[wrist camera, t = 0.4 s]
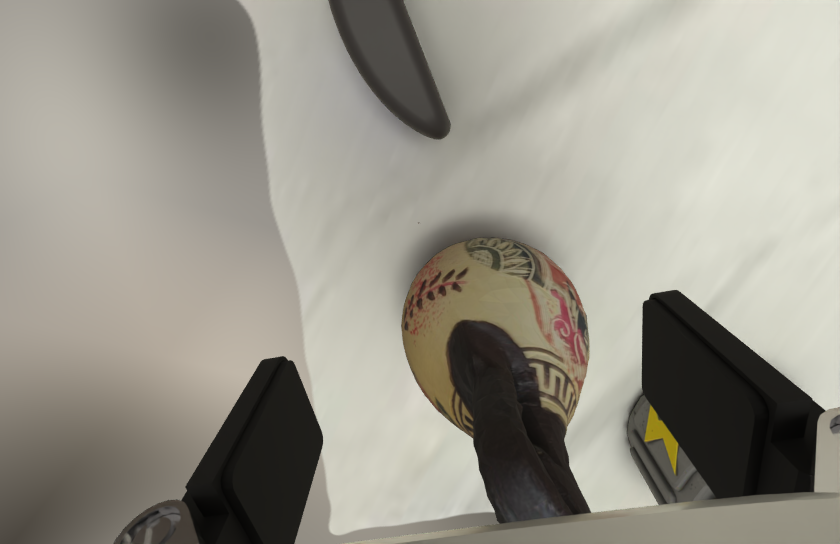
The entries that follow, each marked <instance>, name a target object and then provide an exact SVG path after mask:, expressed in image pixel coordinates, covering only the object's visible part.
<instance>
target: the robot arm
mask: <svg viewBox="0 0 840 544" xmlns="http://www.w3.org/2000/svg"><path fill="white" fill-rule="evenodd" d="M642 389H643V392H644V395H645V397H646V399H647V400H648V402H649V403H650V405H651V406H652V407H653V409H654V410H655V412H656V413H657V414H658V416H659V417H660V419H661V420H662V422H663V423H664V424H665V426H666V427H667V429H668V430H669V431H670V433H671V434H672V436H673V437H674V439H675V440H676V441H677V443H678V444H679V446H680V447H681V448H682V450H683V451H684V453H685V454H686V456H687V457H688V458H689V460H690V461H691V463H692V464H693V465H694V467H695V468H696V470H697V471H698V472H699V474H700V475H701V477H702V478H703V480H704V481H705V482H706V484H707V485H708V487H709V488H710V489H711V491H712V492H713V494H714V495H715V497H716V498H717V499H713V500H703V501H693V502H683V503H673V504H664V505H656V506H647V507H638V508H630V509H621V510H613V511H604V512H595V513H587V514H578V515H570V516H561V517H552V518H544V519H536V520H528V521H519V522H511V523H503V524H495V525H487V526H479V527H471V528H462V529H454V530H447V531H438V532H429V533H422V534H414V535H405V536H398V537H390V538H382V539H374V540H366V541H359V542H351V543H343V544H840V407H838V408H834V409H829V410H827V411H825V410H824V409H823V408H822V407H821V406H819V405H818V404H817V403H816V402H814V401H813V400H812V398H811V397H810V396H808V395H807V394H806V393H805V392H803V391H802V390H801V389H800V388H799V387H797V386H796V385H795V384H794V383H792V382H791V381H790V380H789V379H787V378H786V377H785V376H784V375H782V374H781V373H780V372H779V371H777V370H776V369H775V368H774V367H772V366H771V365H770V364H769V363H768V362H766V361H765V360H764V359H763V358H761V357H760V356H759V355H758V354H756V353H755V352H754V351H753V350H751V349H750V348H749V347H748V346H746V345H745V344H744V343H743V342H741V341H740V340H739V339H738V338H737V337H735V336H734V335H733V334H732V333H730V332H729V331H728V330H727V329H725V328H724V327H723V326H722V325H720V324H719V323H718V322H717V321H715V320H714V319H713V318H712V317H710V316H709V315H708V314H707V313H706V312H704V311H703V310H702V309H701V308H699V307H698V306H697V305H696V304H694V303H693V302H692V301H691V300H689V299H688V298H687V297H686V296H684V295H683V294H682V293H681V292H679V291H678V290H671V291H666V292H660V293H654V294H651V295H650V297H649V300H647V301H644V303H643V324H642ZM322 446H323V435H322V431H321V429H320V426H319V424H318V421H317V419H316V416H315V414H314V411H313V409H312V406H311V404H310V401H309V399H308V396H307V394H306V391H305V389H304V386H303V384H302V381H301V379H300V377H299V374H298V371H297V369H296V366H295V364H294V362H293V361H291V360H290V361H288V360H287V359H286V357H284V356H282V357H276V358H270V359H264V360H262V361H261V362H260V364H259V366H258V367H257V369H256V371H255V372H254V374H253V376H252V377H251V379H250V381H249V382H248V384H247V386H246V387H245V389H244V390H243V392H242V394H241V395H240V397H239V399H238V400H237V402H236V404H235V406H234V407H233V409H232V410H231V412H230V414H229V415H228V417H227V419H226V420H225V422H224V424H223V425H222V427H221V429H220V430H219V432H218V434H217V435H216V437H215V439H214V440H213V442H212V443H211V445H210V447H209V448H208V450H207V452H206V453H205V455H204V457H203V458H202V460H201V462H200V463H199V465H198V467H197V468H196V470H195V472H194V473H193V475H192V477H191V478H190V480H189V482H188V483H187V485H186V489H187V492H186V493H185V495H184V497H183V499H182V500H181V501H180V500H177V499H176V500H167V501H163V502H161V503H157V504H156V505H154V506H152V507H150V508H148V509H146V510H145V511H143V512H142V513H141V514H139V515H138V516H137V517H135V518H134V519H133V520H132V521H131V522H130V523H129V524H128V525H127V526H126V527H125V528H124V529H123V530H122V532H121V533H120V534H119V535H118V537H117V538H116V539H115V541H114V543H113V544H294V543H295V539H296V536H297V532H298V529H299V525H300V522H301V519H302V515H303V511H304V508H305V505H306V501H307V498H308V494H309V491H310V488H311V484H312V481H313V477H314V474H315V470H316V467H317V463H318V460H319V456H320V453H321V450H322Z"/></svg>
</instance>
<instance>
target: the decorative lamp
mask: <svg viewBox="0 0 840 544" xmlns="http://www.w3.org/2000/svg"><path fill="white" fill-rule="evenodd" d="M627 434H628V438H629V441H630V445H631V449H630V452H631V455H632V457H633V459H634V461H635V463H636V464H637V466H638V468H639V470H640V472H641V474H642V476H643V477H644V479H645V481H646V483H647V485H648V486H649V488H650V490H651V492H652V494H653V495H654V497H655V499H656V501H657V503H658V504H659V505H664V504H673V503H683V502H693V501H703V500H713V499H717V498H716V497H715V495H714V494H713V492H712V491H711V489H710V488H709V487H708V485H707V484H706V482H705V481H704V480H703V478H702V477H701V475H700V474H699V472H698V471H697V470H696V468H695V467H694V465H693V464H692V463H691V461H690V460H689V458H688V457H687V456H686V454H685V453H684V451H683V450H682V448H681V447H680V446H679V444H678V443H677V441H676V440H675V439H674V437H673V436H672V434H671V433H670V431H669V430H668V429H667V427H666V426H665V424H664V423H663V422H662V420H661V419H660V417H659V416H658V414H657V413H656V412H655V410H654V409H653V407H652V406H651V405H650V403H649V402H648V400H647V399H646V397H645V395H643V396H642V397H641V398H640V400H639V401H638V403H637V405H636V406H635V408H634V410H633V411H632V413H631V415H630V419H629V424H628V430H627Z"/></svg>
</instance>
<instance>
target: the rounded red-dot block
mask: <svg viewBox="0 0 840 544" xmlns="http://www.w3.org/2000/svg"><path fill="white" fill-rule="evenodd" d="M329 4H330V7H331V11H332V14H333V17H334V20H335V23H336V25H337V28H338V31H339V33H340V36H341V38H342V40H343V42H344V45H345V47H346V49H347V51H348V53H349V55H350V57H351V59H352V61H353V62H354V64H355V66H356V67H357V69H358V71H359V73H360V74H361V76H362V77H363V79H364V80H365V82H366V83H367V84H368V86H369V87H370V88H371V90H372V91H373V92H374V94H375V95H376V96H377V97H378V98H379V100H380V101H381V102H382V103H383V104H384V105H385V106H386V107H387V108H388V109H389V110H390V111H391V112H392V113H393V114H394V115H395V116H396V117H398V118H399V119H400V120H401V121H402V122H404V123H405V124H406V125H408V126H409V127H411V128H412V129H414V130H415V131H417V132H419V133H421V134H423V135H425V136H427V137H430V138H433V139H443V138H445V137H446V136H447V135H448V133H449V131H450V121H449V119H448V116H447V113H446V111H445V108H444V105H443V103H442V100H441V98H440V95H439V92H438V90H437V87H436V85H435V82H434V79H433V77H432V74H431V72H430V69H429V66H428V64H427V61H426V59H425V56H424V54H423V51H422V48H421V46H420V43H419V41H418V38H417V35H416V33H415V30H414V28H413V25H412V22H411V20H410V17H409V15H408V12H407V9H406V7H405V4H404V2H403V0H329Z"/></svg>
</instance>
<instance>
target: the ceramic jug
mask: <svg viewBox="0 0 840 544" xmlns="http://www.w3.org/2000/svg"><path fill="white" fill-rule="evenodd" d="M418 224H419V223H418ZM401 327H402V337H403V345H404V349H405V353H406V357H407V360H408V363H409V365H410V368H411V371H412V373H413V375H414V377H415V379H416V382H417V384H418V385H419V387H420V388H421V390H422V392H423V393H424V395H425V396H426V397H427V398H428V399H429V401H430V402H431V403H432V405H433V406H434V407H435V408H436V409H437V410H438V412H440V413H441V414H442V415H443V416H444V417H445V418H447V419H448V420H449V421H450V422H451V423H453V424H454V425H455V426H456V427H458V428H459V429H460V430H462V431H464V432H465V433H466V434H468V435H469V436H471V437H472V438H473V442H474V447H475V450H476V453H477V456H478V463H479V471H480V473H481V475H482V478H483V480H484V484H485V489H486V493H487V497H488V499H489V500H490V502H491V504H492V506H493V508H494V510H495V514H496V517H497V521H498V522H499V523H500V524H503V523H511V522H519V521H528V520H536V519H544V518H552V517H561V516H570V515H578V514H587V513H591V511H590V509H589V507H588V505H587V503H586V501H585V499H584V497H583V495H582V493H581V491H580V489H579V487H578V485H577V482H576V480H575V478H574V476H573V473H572V472H571V470H570V467H569V456H568V453H567V450H566V446H565V442H564V438H565V435H566V431H567V426H568V424H569V423H570V421H571V419H572V417H573V416H574V412H575V409H576V407H577V404H578V401H579V397H580V393H581V390H582V386H583V383H584V379H585V377H586V372H587V365H588V360H589V335H588V326H587V316H586V314H585V311H584V309H583V307H582V303H581V301H580V298H579V296H578V294H577V291H576V289H575V287H574V285H573V284H572V282H571V281H570V279H569V278H568V277H567V276H566V275H565V273H564V272H563V271H562V269H561V268H559V267H558V266H557V265H556V264H555V263H554V262H553V261H552V260H551V259H550V258H548V257H547V256H546V255H545V254H544V253H542V252H540V251H538V250H536V249H534V248H532V247H530V246H528V245H526V244H523V243H520V242H516V241H513V240H509V239H499V238H476V239H472V240H469V241H465V242H461V243H457V244H454V245H452V246H449V247H447V248H446V249H444V250H442V251H441V252H439V253H437V254H436V255H435V256H434V257H433V258H432V259H431V260H430V261H429V262H428V263H427V264H426V265H425V266H424V267H423V268H422V269H421V270H420V272H419V273H418V274H417V276H416V277H415V279H414V281H413V282H412V285H411V287H410V290H409V292H408V295H407V298H406V301H405V304H404V308H403V315H402V324H401Z"/></svg>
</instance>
